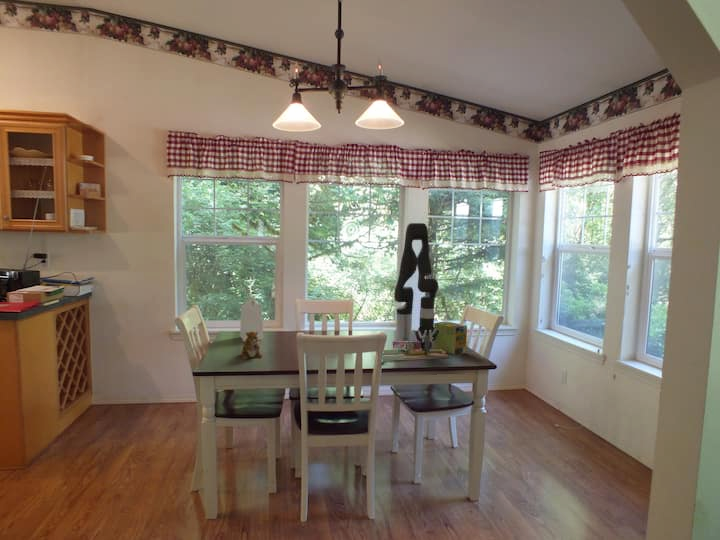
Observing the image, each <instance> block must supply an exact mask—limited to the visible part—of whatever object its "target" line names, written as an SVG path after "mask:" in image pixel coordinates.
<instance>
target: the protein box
mask: <svg viewBox="0 0 720 540" xmlns="http://www.w3.org/2000/svg"><path fill="white" fill-rule="evenodd" d="M434 329H437V330H439V332H438V335H437V337H436V339H435V341H432V343H433V344H432V345H433V347H432V349H442V350H443V351H445V352H446V353H448V354H453V355H457V354H460V355H464V354H466V353H467V343H468V342H467V340H468V339H467V336H468V325H466V324H461V323H456V322H452V321H445V320H444V321H439V322H434Z"/></svg>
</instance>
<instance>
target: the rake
mask: <svg viewBox="0 0 720 540" xmlns="http://www.w3.org/2000/svg"><path fill="white" fill-rule="evenodd" d="M423 350H424V351H425V355H430V350H431V349H430V336H429V335H426V336H425V339H424V349H423Z"/></svg>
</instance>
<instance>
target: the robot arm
mask: <svg viewBox="0 0 720 540" xmlns="http://www.w3.org/2000/svg"><path fill="white" fill-rule="evenodd" d="M405 229H406V230H405V235H404V246H403V250H402V251H403V252H402V257H401V261H400V268H399V274H398V277H397V278H398V279H397V282H396V286H395V288H394V289H395V290H394V295H393V297H394V300H395V302H397V303H405V304H404V305H402V306H399V307H398V308H396V320H395V321H396V324H395V341H410V340H412V330H413V329H412V324H413V322H412V321H413V306H414V303H413V302H414V294H415V293H414V289H413V287H411V286H405V284H406V283H407V282H408V280H410V279H411V278H412V277H413V276H414V274H415V273H416V271H417V270H418V278H417V288H418V291H419V292H420V293H427V294H426V295H424V296H422V297H421V298H420V309H419V327H418V328H417V329H414V330H413V333H414V335H415V337H416V340H418V341H420V342H421V344H420V347H421V348H422V349H424V339H425V336H426V335H429V336H430V350H431V348H433V347H432V345H433V344H432V343H433V341H435V339H436V337H437V335H438V332H439V330H437V329H434V323H435V298H436V297H437V292H438V289H439V283H438V281H437V279H435V278H426V277H428V276H430V275H431V274H432V273H433V272H432V271H433V269H432V266H431V259H430V258H431V257H430V249H429V247H430V244H429V243H430V242H429V231H428V226H427V224H426V223H422V222H410V223H408V224H407V226H406V228H405ZM413 241H421V247H420V251H419V252H418V255H417V254H416V253H415V252H416V251H415V250H414V248H413ZM419 334H420V335H419Z"/></svg>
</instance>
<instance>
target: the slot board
mask: <svg viewBox="0 0 720 540" xmlns="http://www.w3.org/2000/svg"><path fill="white" fill-rule="evenodd" d="M401 354H404V355H405V356H404V360H403V361H413V360H414V361H415V360H433V359H449V354H447V352H445V351H443V350H442V349H434V348H432V349H430V355H412V356H408V351H398V354H397V355H401Z"/></svg>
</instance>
